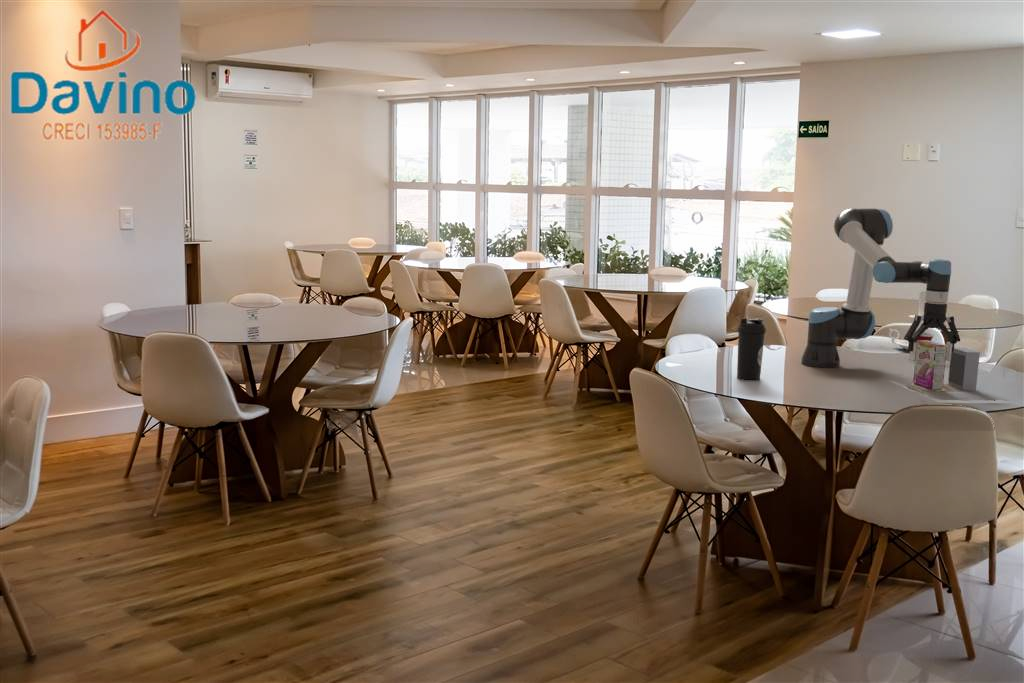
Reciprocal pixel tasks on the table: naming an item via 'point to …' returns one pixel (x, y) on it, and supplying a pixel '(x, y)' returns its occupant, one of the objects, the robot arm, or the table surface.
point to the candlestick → (922, 301)
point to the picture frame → (945, 388)
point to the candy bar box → (930, 364)
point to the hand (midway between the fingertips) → (929, 360)
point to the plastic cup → (924, 337)
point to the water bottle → (750, 349)
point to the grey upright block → (963, 369)
